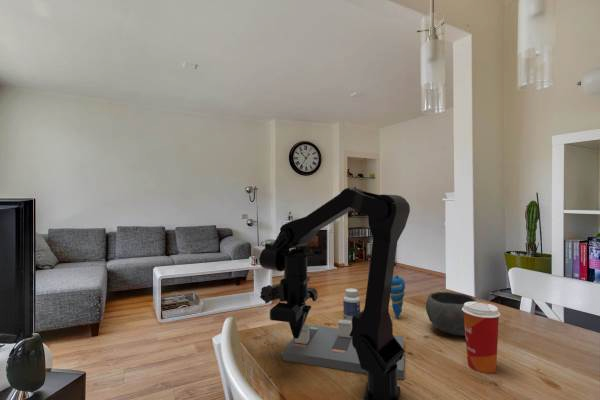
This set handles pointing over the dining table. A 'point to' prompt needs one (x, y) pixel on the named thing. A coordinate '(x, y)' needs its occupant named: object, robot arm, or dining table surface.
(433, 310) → the bowl
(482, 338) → the paper cup
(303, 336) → the handle
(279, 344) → the dining table surface
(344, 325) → the middle handle
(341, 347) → the breaker panel
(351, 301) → the pill bottle
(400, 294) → the ornament
